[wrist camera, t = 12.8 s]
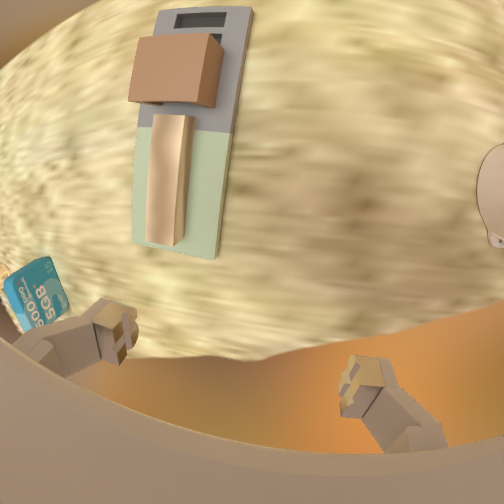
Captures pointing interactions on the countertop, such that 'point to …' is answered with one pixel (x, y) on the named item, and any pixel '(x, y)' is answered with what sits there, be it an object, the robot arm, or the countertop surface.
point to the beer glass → (3, 274)
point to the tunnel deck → (191, 110)
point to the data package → (36, 294)
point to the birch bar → (168, 178)
